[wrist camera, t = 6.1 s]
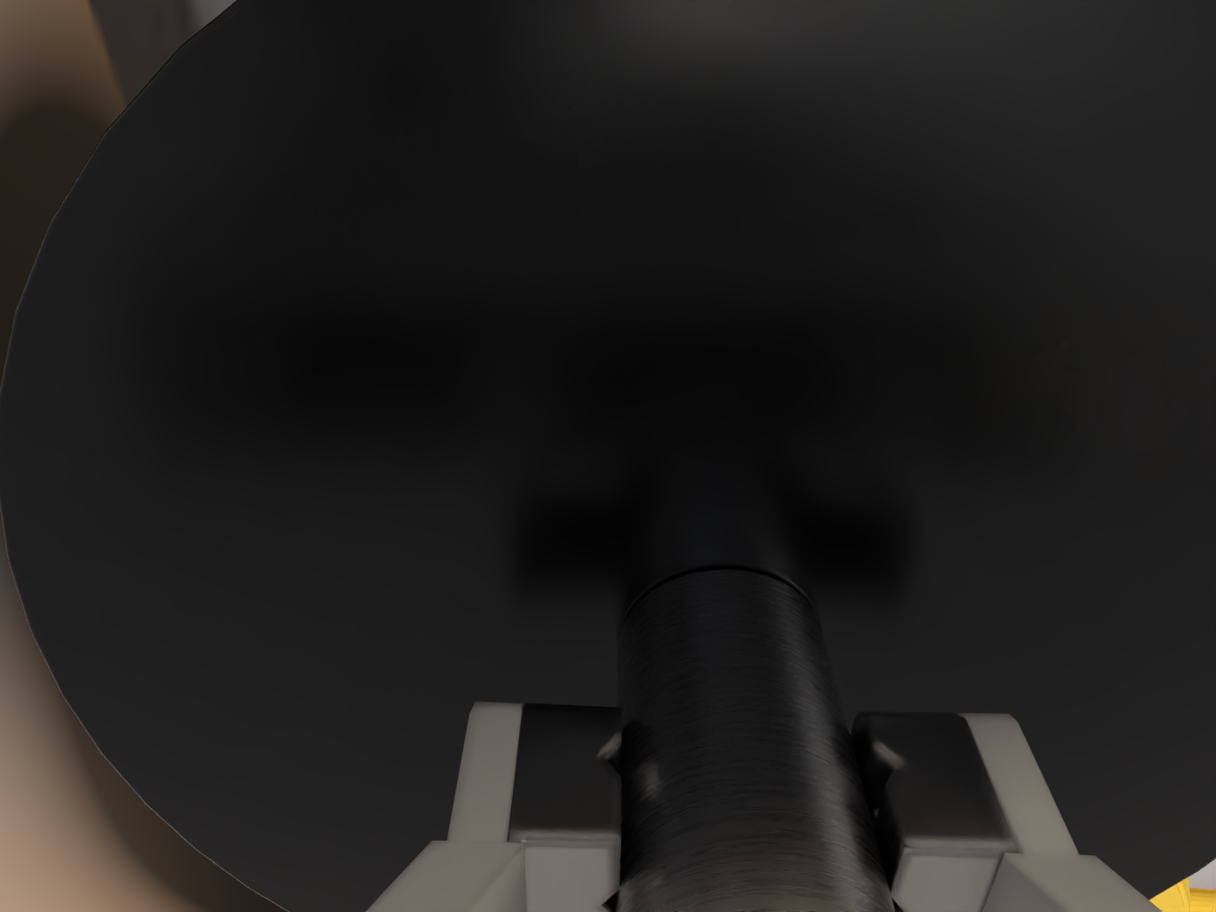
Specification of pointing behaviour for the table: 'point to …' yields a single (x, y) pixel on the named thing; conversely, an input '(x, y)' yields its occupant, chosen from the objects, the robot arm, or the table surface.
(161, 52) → the table surface
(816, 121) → the lid
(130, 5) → the table surface
